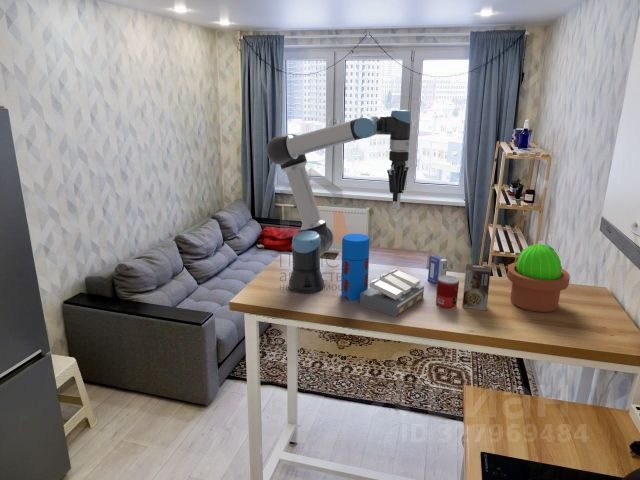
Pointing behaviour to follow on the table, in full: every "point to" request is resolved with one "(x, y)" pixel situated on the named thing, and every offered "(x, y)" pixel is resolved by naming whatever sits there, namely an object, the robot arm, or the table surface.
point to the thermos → (354, 265)
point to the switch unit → (390, 300)
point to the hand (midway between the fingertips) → (396, 208)
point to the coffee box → (476, 287)
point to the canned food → (447, 291)
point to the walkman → (436, 268)
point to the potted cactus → (537, 279)
